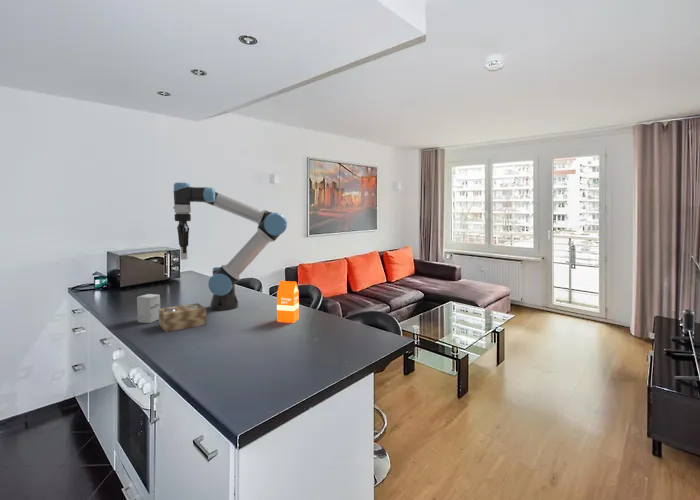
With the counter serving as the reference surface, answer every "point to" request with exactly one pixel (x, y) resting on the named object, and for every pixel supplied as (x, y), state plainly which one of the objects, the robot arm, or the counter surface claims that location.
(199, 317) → the oak socket block
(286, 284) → the orange juice
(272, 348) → the counter surface
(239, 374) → the counter surface
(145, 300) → the supplement box
